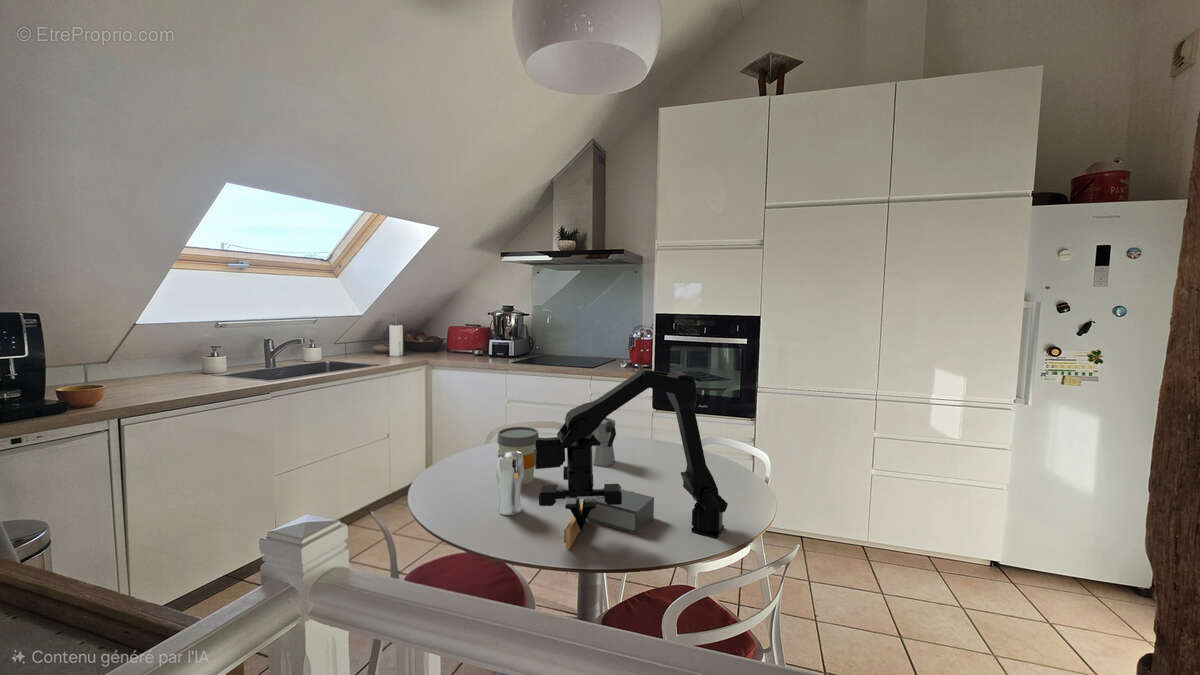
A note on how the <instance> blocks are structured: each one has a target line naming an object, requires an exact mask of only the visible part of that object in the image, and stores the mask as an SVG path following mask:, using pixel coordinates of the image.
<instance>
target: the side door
mask: <svg viewBox="0 0 1200 675" xmlns="http://www.w3.org/2000/svg"><path fill="white" fill-rule="evenodd" d="M582 508H583V500H582V501H581V502H580V509H581V515H582ZM580 532H581V530H580V528H579V526H578V523H577V521H576V519H575V517H574V515H573V516H572V517H571V519H570V521H569V523H568V524H567V526H566V527H565V528H564V530H563V542H564V544H565V548H566V549H571V548H572V546H573V544H574V542H575V540H576V538H577V536H578V535H579V533H580Z"/></svg>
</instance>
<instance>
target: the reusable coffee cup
mask: <svg viewBox="0 0 1200 675" xmlns="http://www.w3.org/2000/svg"><path fill="white" fill-rule="evenodd" d="M535 438H540V437H539V431H538V429H536V428H533V427H527V426H513V427H505V428H502V429H500V430H499V431H498V432H497V444H498V451H497V453H498V454H500V453H502V452H507V451H516V452H520V453H522V454H523V468H524V472H523V482H522V486H524V484H525V485H528V484H530V483H532V482H533V481H532V480H534V472H535V462H534V450H535ZM498 454H497V455H498ZM531 481H532V482H531ZM527 483H528V484H527Z"/></svg>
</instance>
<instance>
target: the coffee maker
mask: <svg viewBox="0 0 1200 675" xmlns="http://www.w3.org/2000/svg"><path fill="white" fill-rule="evenodd" d="M593 434H594V436H595V437H596V438H598V440H599V441H600V442H601V445H598V446H592V466H593V467H602V468H604V467H611V466H613V465H614V464H615V463H616V458H615V451H614V441H615V438H616V436H617V430H616V420H615V419H612V418H609V417H606V418H605V419H604V420H603V421H602V423H601V424H600V426H599V427H598V428H597V429H596V430H595V431H594V432H593Z"/></svg>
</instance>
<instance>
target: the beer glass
mask: <svg viewBox="0 0 1200 675" xmlns="http://www.w3.org/2000/svg"><path fill="white" fill-rule="evenodd" d="M496 457H497V459H496V480H497V481H496V482H497V486H498V493H499V505H498V513H499V514H500V515H502V516H507V517H509V516H516V515H519V514H520V513H521V512H522V510H523V507H522V503H521V492H522V487H523V485H522V482H523V472H524V468H523V454H522V453H520V452H516V451H507V452H502V453H500V454H497V456H496Z"/></svg>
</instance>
